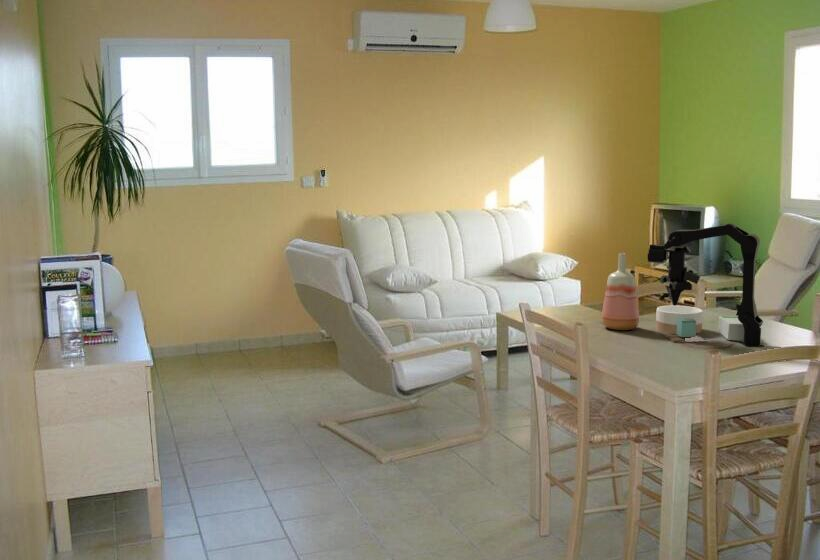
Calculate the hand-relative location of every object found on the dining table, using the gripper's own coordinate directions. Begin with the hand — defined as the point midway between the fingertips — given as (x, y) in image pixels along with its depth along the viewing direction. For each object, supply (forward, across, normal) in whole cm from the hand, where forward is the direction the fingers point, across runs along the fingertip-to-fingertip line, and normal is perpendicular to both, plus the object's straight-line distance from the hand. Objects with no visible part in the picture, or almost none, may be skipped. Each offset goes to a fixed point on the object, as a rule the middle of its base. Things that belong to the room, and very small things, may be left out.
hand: (674, 305), depth 330 cm
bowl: (+12, +12, -6) cm, 18 cm away
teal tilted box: (+10, -5, -3) cm, 12 cm away
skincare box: (+9, +7, -24) cm, 26 cm away
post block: (+12, -5, -3) cm, 13 cm away
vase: (+12, +16, +16) cm, 26 cm away
